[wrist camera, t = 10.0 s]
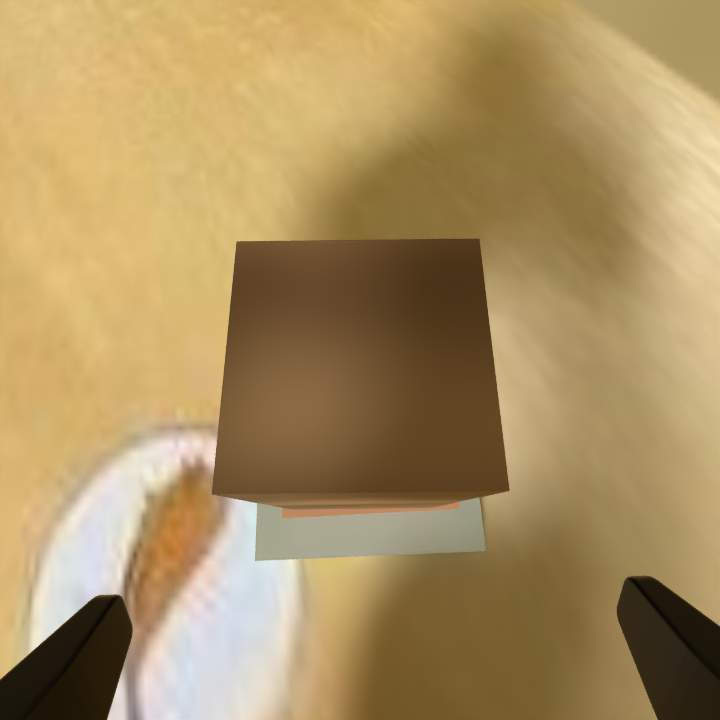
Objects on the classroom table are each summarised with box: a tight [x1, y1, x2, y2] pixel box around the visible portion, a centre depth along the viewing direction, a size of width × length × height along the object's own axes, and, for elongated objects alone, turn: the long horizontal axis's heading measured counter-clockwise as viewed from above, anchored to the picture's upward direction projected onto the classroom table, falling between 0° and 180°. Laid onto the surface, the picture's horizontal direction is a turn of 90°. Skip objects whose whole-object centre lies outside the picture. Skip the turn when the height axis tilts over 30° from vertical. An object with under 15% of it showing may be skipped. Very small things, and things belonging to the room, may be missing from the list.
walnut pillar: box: [212, 239, 509, 510], centre depth 14 cm, size 6×6×10 cm
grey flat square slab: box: [255, 497, 486, 561], centre depth 22 cm, size 10×10×2 cm
